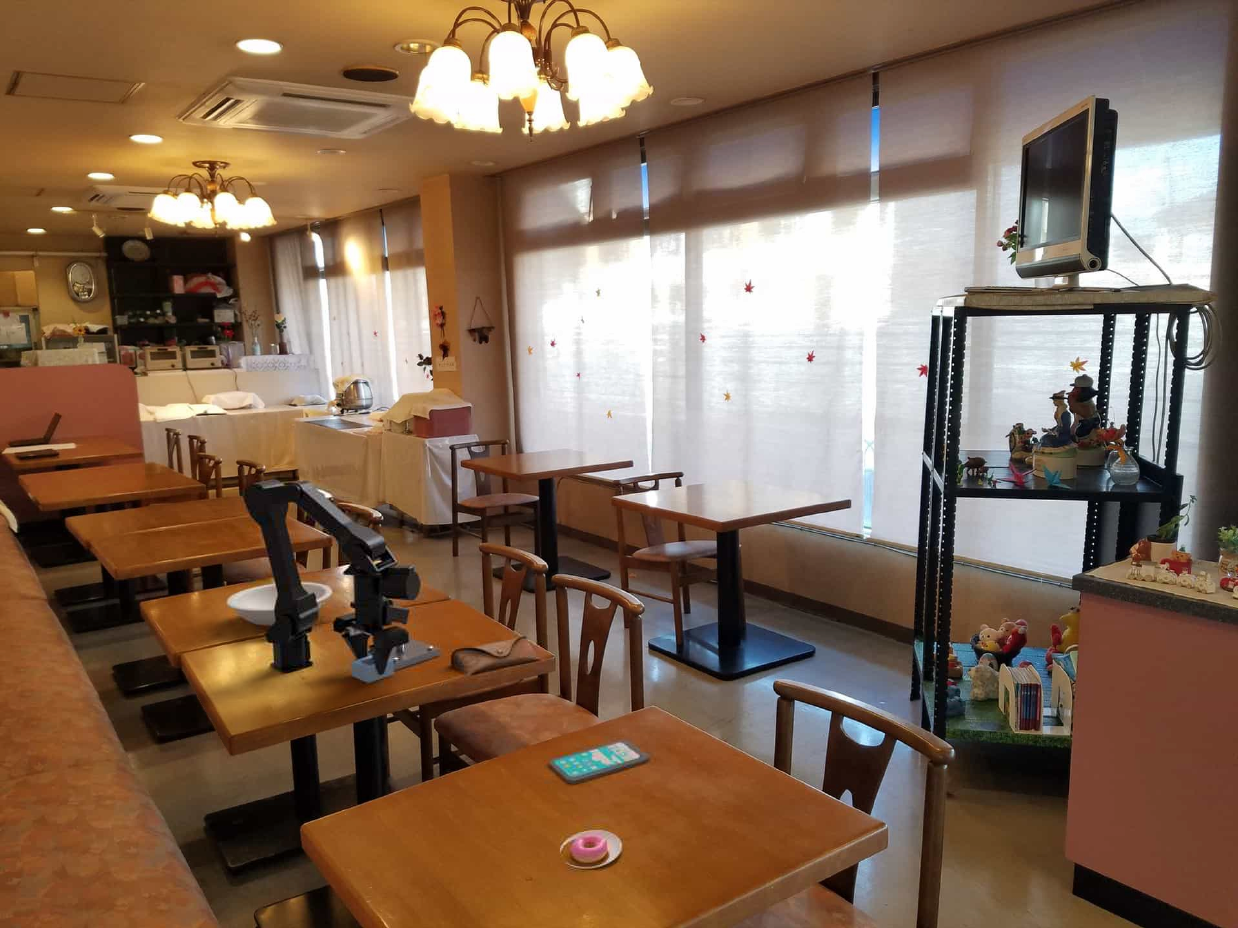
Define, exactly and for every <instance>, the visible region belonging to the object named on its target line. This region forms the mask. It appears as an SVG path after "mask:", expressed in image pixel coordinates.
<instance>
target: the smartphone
mask: <svg viewBox="0 0 1238 928" xmlns="http://www.w3.org/2000/svg"><path fill="white" fill-rule="evenodd" d="M649 761H650V756H649V754H648V753H646V752H645V751H643V749H641V748H639V747H637V745H635V744H633V743H632V742H631V741H630V740H625V739H622V740H617V741H613V742H609V743H604V744H602V745H598V746H594V747H592V748H588V749H585V750H580V751H577V752H573V753H570V754H569V753H568V754H565V755H562V756H559V757H556V758H553V759H550V760H549V762H548V767H549V768H551V769H552V770H553V772H555V773H556V774H557V775H558V776H560V778H562V779H563V780H564V781H565V782H566V783H568V784H572V785H573V784H579V783H582V782H583V783H584V782H586V781H589V780H594V779H598V778H599V777H603V776H607V775H610V774H613V773H615V772H619V771H622V770H626V769H629V768H633V767H636V766H639V765H643V764H645V763H647V762H649Z"/></svg>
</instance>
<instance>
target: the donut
mask: <svg viewBox="0 0 1238 928" xmlns="http://www.w3.org/2000/svg"><path fill="white" fill-rule="evenodd" d="M573 840H574V841H573ZM571 841H573V842H572V845H571V846H570V853H571V855H572V857H573V859H575V860H576V861H577V862H580V863H583V864H585V863H586V864H590V863H595V862H599V861H600V860H602V859H603V858H604V857H605V856H606V855H607V853H608V858H607V859H606V860H605V861H604V862H602V863H601V864H598V865H594V866H577V865H573V864H570V863H569V862H566V861H565V863H566V864H567V865H569V866H571V867H574V868H579V869H583V870H584V869H595V868H600V867H602V866H603V867H604V866H605V865H608V864H610V863H612V862H613V861H614V860H615V859H616V858H618V856H620V854H621V851H622V849H623V847H622V846H623V843H622V841H621V840H620V838H619V837H618V836H617V835H616V834H614V833H612V832H610V831H606V830H603V829H602V830H601V829H599V830H598V829H597V830H596V829H594V830H593V829H591V830H586V831H581V832H577V833H576V834H573V835H572V836H570V837H569V838H567V839H565V841H564V842H563V844H562V845H561V847H560V850H559V852H560V853H559V854H561V852H562V849H563V848H564V846H565V845H566V844H568V843H570V842H571Z"/></svg>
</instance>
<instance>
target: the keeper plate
mask: <svg viewBox="0 0 1238 928" xmlns="http://www.w3.org/2000/svg"><path fill="white" fill-rule="evenodd" d="M368 656H371V652H370V649H369V647H368V648H367V657H368ZM440 656H441V648H439V647H436V646H433V645H430V644H428V643H425V642H422V641H419V640H416V639H413V638H410V637H409V643H406V644H403V645H400V646H396V647H394V648H393V649H392V651H391V654H390V656H389V659H391V660H393V667H394V672H395V671H399V670H401V669H404V668H407V667H410V666H413V665H416V664H419V663H421V662H422V663H423V662H424V661H427V660H432V659H433V658H436V657H440Z"/></svg>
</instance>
